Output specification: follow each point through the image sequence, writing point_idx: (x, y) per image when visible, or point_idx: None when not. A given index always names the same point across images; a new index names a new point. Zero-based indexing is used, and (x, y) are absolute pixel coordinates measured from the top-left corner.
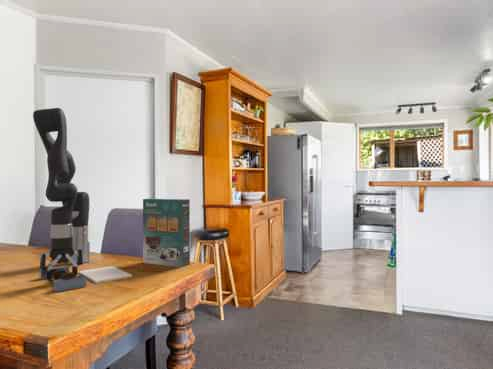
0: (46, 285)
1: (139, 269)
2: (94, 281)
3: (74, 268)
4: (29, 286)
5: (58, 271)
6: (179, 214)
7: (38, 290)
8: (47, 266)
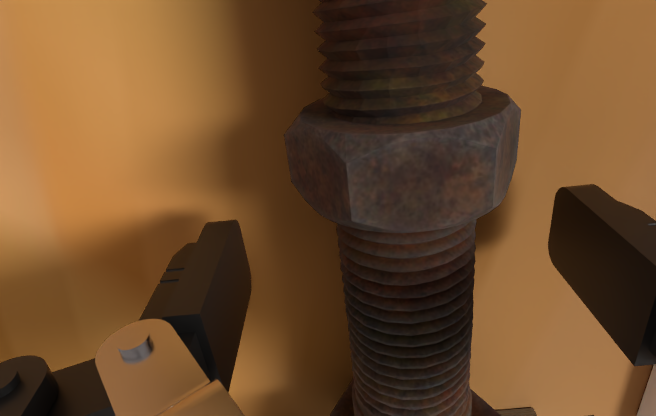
0: None
1: None
2: (651, 403)
3: (634, 353)
4: (8, 182)
5: (372, 229)
6: None
7: None
8: (126, 407)
